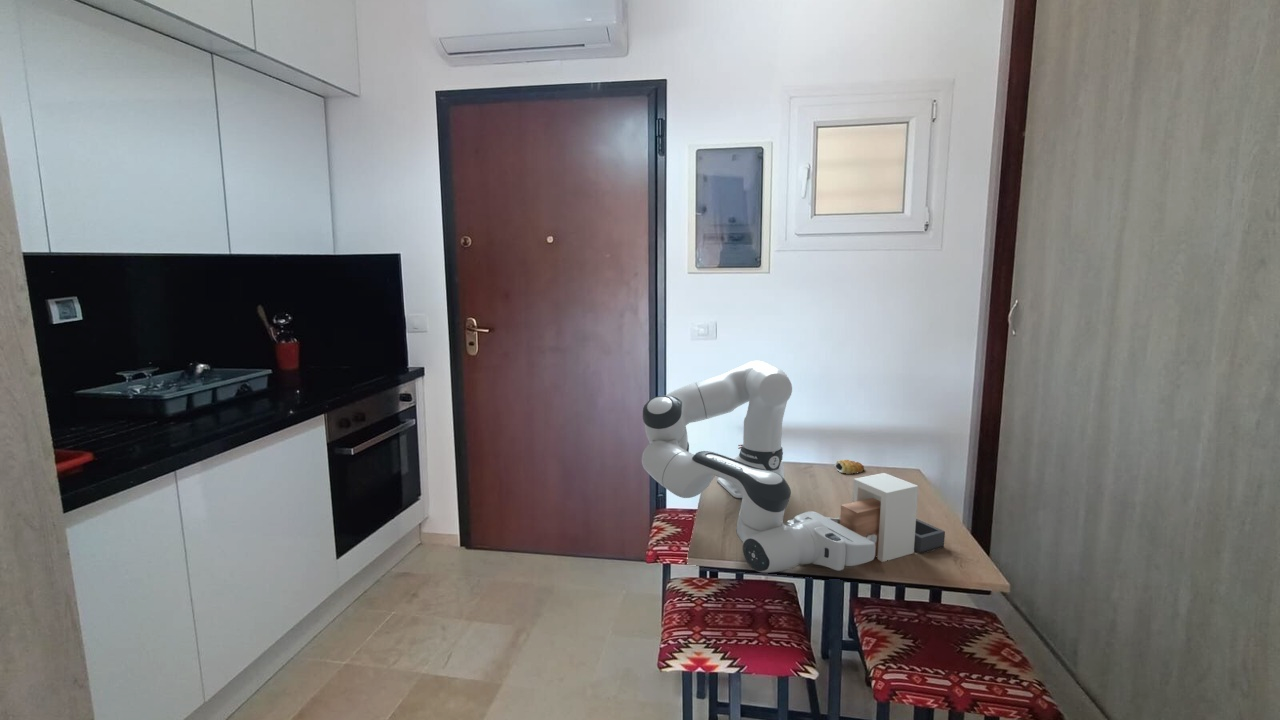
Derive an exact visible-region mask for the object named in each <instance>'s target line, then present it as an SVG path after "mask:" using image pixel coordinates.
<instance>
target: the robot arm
mask: <svg viewBox="0 0 1280 720" xmlns="http://www.w3.org/2000/svg"><path fill="white" fill-rule="evenodd" d="M792 392H793V386H792V382H791V380H790V379H789V376H788V375H787V373H785V372H784V371H783V370H782V369H780V368H778V367H776V366H774V365H772V364H770V363H767V362H766V361H762V360H752V361H749V362H747V363H745V364H743V365H741V366H738V367H736V368H734V369H731V370H730V371H728V372H727V371H726V372H725V373H722V374H720V375H717V376H713V377H710V378H707V379H704V380H699V381H696V382H693V383H689V384H687V385H684V386H682V387H680V388H677V389H674V390H673V391H671V392H669V393H668V394H666V395H664V394H663V395H657V396H655V397H652V398H650V399H649V400H648V401H647V402H645V404H644V405H643V407H642V420H643V423H644V431H645V436H646V439H647V441H648V442H649V443H648V444H647V446H646V447H645V448H644V450H643V452H642V456H641V465H642V468H643V469H644V470H645V471H646V472H647V474H649V476H651V478H652V479H654V480H655V482H656V483H658V484H660V485H661V487H663V488H664V489H666V490H668V491H669V492H670V493H671V494H673V495H675V496H677V497H680V498H682V499H690V498H691V499H692V498H694V497H695V498H696V497H697V496H699V495H700V494H701V493H703V492H704V491H706V489H707V488H708V487H709V486H710V484H711V483H712V481H713V480H714V478H715V477H718V478H717V482H718V483H719V485H720V486H722V487H723V488H724V489H725V490H726V491H727V492H728V493H729V494H730V495H731V496H733V498H736V499H742V500H741V504H740V508H739V509H740V510H739V512H738V517H737V523H736V530H735V531H736V536H737V538H738V539H739V540H740V542H742V554H743V557H744V560H745V561H746V563H747V564H748V566H749V567H751V569H752V570H754V571H756V572H758V573H768V574H769V573H778V572H782V571H787V570H790V569H793V568H795V567H797V566H799V565H809V564H813V565H818V566H823V567H827V568H830V569H832V570H834V571H843V570H844V569H845V566H846V567H854V566H859V565H862V564H866V563H869V562H872V561H873V560H874V559H875V558H876V557H875V542H876V541H877V536H876V535H875V534H873V533H868V534H866V537H863V536H861V535H859V534H857V533H855V532H853V531H851V530H849V529H848V528H846V527H844V526H842V525H840V517H829V516H824V515H822V514H821V513H819V512H816V511H814V510H808V511H805V512H801V513H799V514H797V515H795V516H794V517H793V519H789V520H787V521H786V522H785V523H784V522H783V520H784V515H785V511H786V508H787V505H788V503H789V500H790V497H791V494H792V491H791V487H790V485H789V483H788V482H787V481H786V479H785V467H784V462H783V455H784V451H783V450H784V449H783V447H782V440H783V439H782V438H783V437H782V434H783V433H782V432H783V431H782V430H783V421H784V420H783V419H784V416H785V412H786V407H787V403H788V401H789V399H790V398H791V396H792ZM747 403H748V407H747V410H746V415H745V417H744V420H743V443H742V444H738V447H737V448H738V449H739V450H740V451H739V454H738V455H737V456H736V457H735V458H731V457H729V456H726V455H723V454H720V453H718V452H715V451H710V450H709V451H708V450H707V451H706V450H703V451H702V450H701V451H698V452H696V453H695V454H694V453H691V452H690V444H689V441H688V432H687V425H689V424H692V423H697V422H700V421H701V422H702V421H705V420H709V419H712V418H715V417H718V416H722V415H725V414H728V413H731V412H733V411H734V410H735V409H737V408H738V407H740V406H742V405H745V404H747Z"/></svg>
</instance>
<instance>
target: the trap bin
mask: <svg viewBox="0 0 1280 720" xmlns="http://www.w3.org/2000/svg"><path fill="white" fill-rule="evenodd" d="M945 537H946V531H945V530H942V529H940V528H939V527H936V526H933V525H931V524H929V523H926V522H924V521H922V520H920V519H918V518H916V527H915V542H914V553H915V552H916V553H918V555H919V554H920V555H921V554H925V553H929V552H932V551H936V550H939V549H942V548H944V547H945Z"/></svg>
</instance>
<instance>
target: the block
mask: <svg viewBox="0 0 1280 720" xmlns="http://www.w3.org/2000/svg"><path fill="white" fill-rule="evenodd" d="M880 508H881V501H879V500H876V499H874V498H870V499H866V500H861V501H857V502H852V501H851V502H850V503H849V502H847V503H843V504H841V505H840V525H842V526H844V527H846V528H848V529H849V530H851V531H853V532H855V533H857V534H859V535H861V536H863V537H866V534H868V533H873V534H875V535H876V536H877V541H876V542H875V557H874V558H877V557H878V541H879V525H880ZM876 556H877V557H876Z"/></svg>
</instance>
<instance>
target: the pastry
mask: <svg viewBox="0 0 1280 720" xmlns="http://www.w3.org/2000/svg"><path fill="white" fill-rule="evenodd" d="M834 466H835V467H834ZM833 468H834V469H835V468H836V469H837V470H838V471H839V472H838V471H837V472H838V473H840V474H843V473H846V474H845V475H851V474H853V473H855V474H858V473H857V472H860V473H863V472H864V471H865V466H864V465H863V464H862V463H861V462H859V461H857V462H856V461H855V460H850V459H844V460H843V459H842V460H841V459H839V460H836V462H835V463H834V465H833ZM863 470H864V471H863ZM853 475H854V474H853Z"/></svg>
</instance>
